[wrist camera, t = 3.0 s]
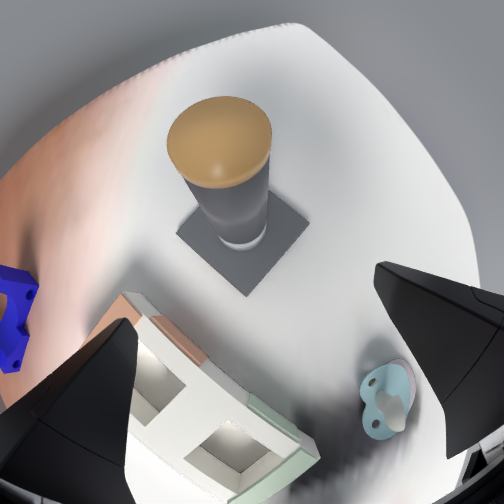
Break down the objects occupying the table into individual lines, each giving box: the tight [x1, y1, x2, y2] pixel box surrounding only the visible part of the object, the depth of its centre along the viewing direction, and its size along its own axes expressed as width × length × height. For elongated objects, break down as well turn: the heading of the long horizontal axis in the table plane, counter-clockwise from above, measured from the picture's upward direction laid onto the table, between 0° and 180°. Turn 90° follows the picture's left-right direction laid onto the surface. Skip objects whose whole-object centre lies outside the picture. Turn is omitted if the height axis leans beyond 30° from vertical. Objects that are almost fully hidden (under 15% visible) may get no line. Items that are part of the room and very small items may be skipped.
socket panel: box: [80, 291, 321, 504], centre depth 18 cm, size 20×9×4 cm, turn 49°
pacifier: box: [359, 359, 416, 440], centre depth 17 cm, size 7×6×6 cm
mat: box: [176, 190, 309, 297], centre depth 23 cm, size 8×8×1 cm
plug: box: [167, 96, 272, 251], centre depth 16 cm, size 4×4×13 cm
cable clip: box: [0, 265, 39, 374], centre depth 19 cm, size 12×4×6 cm, turn 149°
